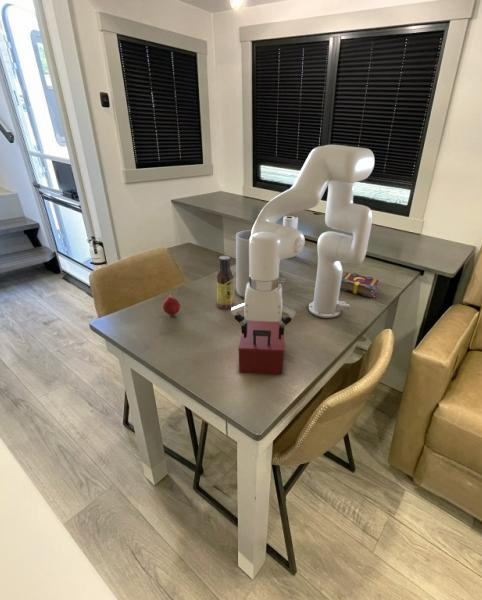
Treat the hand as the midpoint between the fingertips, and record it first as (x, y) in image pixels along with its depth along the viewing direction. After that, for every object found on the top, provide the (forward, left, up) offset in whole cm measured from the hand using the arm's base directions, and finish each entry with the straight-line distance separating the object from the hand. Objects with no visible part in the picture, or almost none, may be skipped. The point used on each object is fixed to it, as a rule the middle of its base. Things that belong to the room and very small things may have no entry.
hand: (262, 335), depth 92 cm
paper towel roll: (-9, -91, -12) cm, 93 cm away
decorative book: (-41, -56, -12) cm, 71 cm away
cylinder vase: (+7, -48, -12) cm, 50 cm away
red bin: (0, -5, -12) cm, 13 cm away
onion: (+34, -27, -12) cm, 45 cm away
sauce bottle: (+16, -36, -12) cm, 42 cm away
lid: (0, -5, -3) cm, 6 cm away
